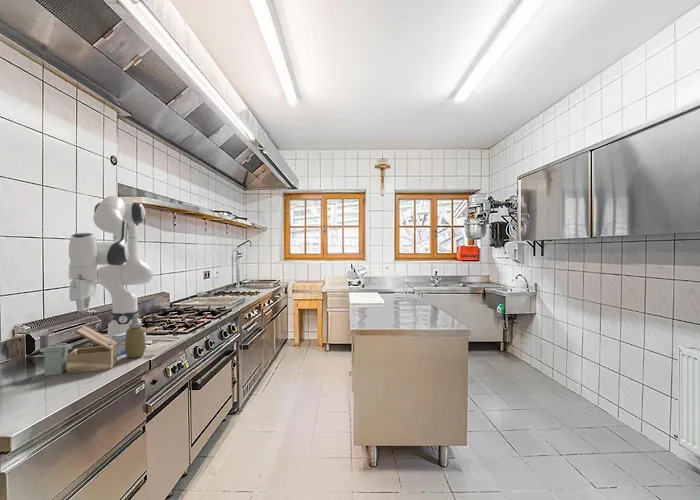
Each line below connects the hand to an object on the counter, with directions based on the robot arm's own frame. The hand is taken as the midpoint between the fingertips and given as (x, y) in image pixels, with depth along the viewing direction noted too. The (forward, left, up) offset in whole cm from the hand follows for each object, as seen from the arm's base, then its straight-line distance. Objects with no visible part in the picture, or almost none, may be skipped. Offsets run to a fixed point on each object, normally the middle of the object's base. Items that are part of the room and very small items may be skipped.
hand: (83, 309), depth 137 cm
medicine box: (-19, +10, -24) cm, 32 cm away
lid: (0, +4, -12) cm, 13 cm away
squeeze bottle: (-10, +16, -24) cm, 30 cm away
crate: (0, +3, -23) cm, 23 cm away
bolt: (0, -9, -15) cm, 17 cm away
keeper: (0, -9, -23) cm, 25 cm away
